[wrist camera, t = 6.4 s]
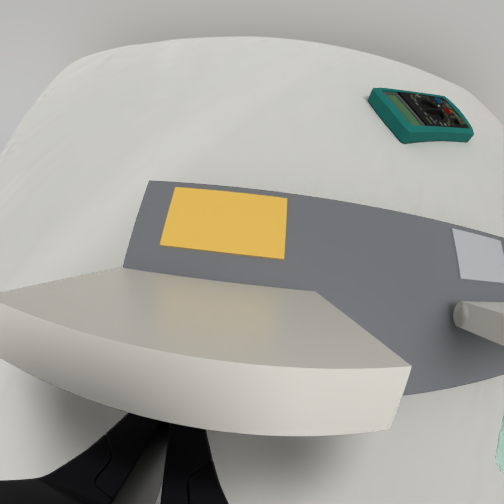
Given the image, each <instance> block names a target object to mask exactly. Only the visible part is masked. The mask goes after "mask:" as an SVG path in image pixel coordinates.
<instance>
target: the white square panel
mask: <svg viewBox="0 0 504 504" xmlns="http://www.w3.org/2000/svg"><path fill="white" fill-rule="evenodd" d="M0 358H2V359H3V360H5V361H7V362H9V363H10V364H12V365H14V366H16V367H18V368H19V369H21V370H23V371H25V372H27V373H29V374H31V375H33V376H35V377H37V378H39V379H41V380H43V381H45V382H47V383H50V384H52V385H54V386H56V387H59V388H61V389H63V390H66V391H68V392H71V393H73V394H76V395H78V396H81V397H83V398H86V399H89V400H92V401H94V402H97V403H100V404H103V405H106V406H109V407H112V408H115V409H119V410H122V411H125V412H129V413H132V414H136V415H140V416H143V417H147V418H151V419H156V420H160V421H164V422H169V423H174V424H179V425H184V426H189V427H195V428H201V429H208V430H215V431H222V432H231V433H241V434H253V435H269V436H329V435H345V434H356V433H366V432H374V431H382V430H389V429H390V427H391V424H392V422H393V419H394V417H395V414H396V412H397V409H398V406H399V404H400V401H401V398H402V395H403V392H404V389H405V386H406V383H407V380H408V377H409V374H410V371H411V367H412V366H411V365H410V364H409V363H407V362H406V361H405V360H403V359H402V358H401V357H400V356H398V355H397V354H396V353H394V352H393V351H392V350H391V349H389V348H388V347H387V346H385V345H384V344H383V343H382V342H380V341H379V340H378V339H376V338H375V337H374V336H373V335H371V334H370V333H369V332H367V331H366V330H365V329H364V328H362V327H361V326H360V325H358V324H357V323H356V322H354V321H353V320H352V319H351V318H349V317H348V316H347V315H345V314H344V313H343V312H342V311H340V310H339V309H338V308H336V307H335V306H334V305H332V304H331V303H330V302H329V301H327V300H326V299H325V298H323V297H322V296H321V295H319V294H318V293H317V292H315V291H306V290H296V289H286V288H276V287H266V286H257V285H248V284H240V283H231V282H223V281H214V280H206V279H199V278H191V277H183V276H176V275H169V274H161V273H154V272H147V271H141V270H134V269H127V268H121V267H120V268H115V269H110V270H105V271H100V272H96V273H91V274H86V275H81V276H76V277H71V278H67V279H62V280H57V281H52V282H48V283H43V284H38V285H33V286H29V287H24V288H19V289H15V290H10V291H6V292H1V293H0Z"/></svg>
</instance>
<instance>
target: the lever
mask: <svg viewBox="0 0 504 504" xmlns="http://www.w3.org/2000/svg"><path fill="white" fill-rule="evenodd" d="M453 320H454V323H455V326H457V327H460V328H462V329H465V330H467V331H469V332H472V333H474V334H476V335H479V336H481V337H483V338H486V339H488V340H490V341H493V342H495V343H497V344H500V345H502V346H504V302H474V301H460V302H459V303H458V304H457V305H456V307H455V309H454V312H453Z"/></svg>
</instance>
